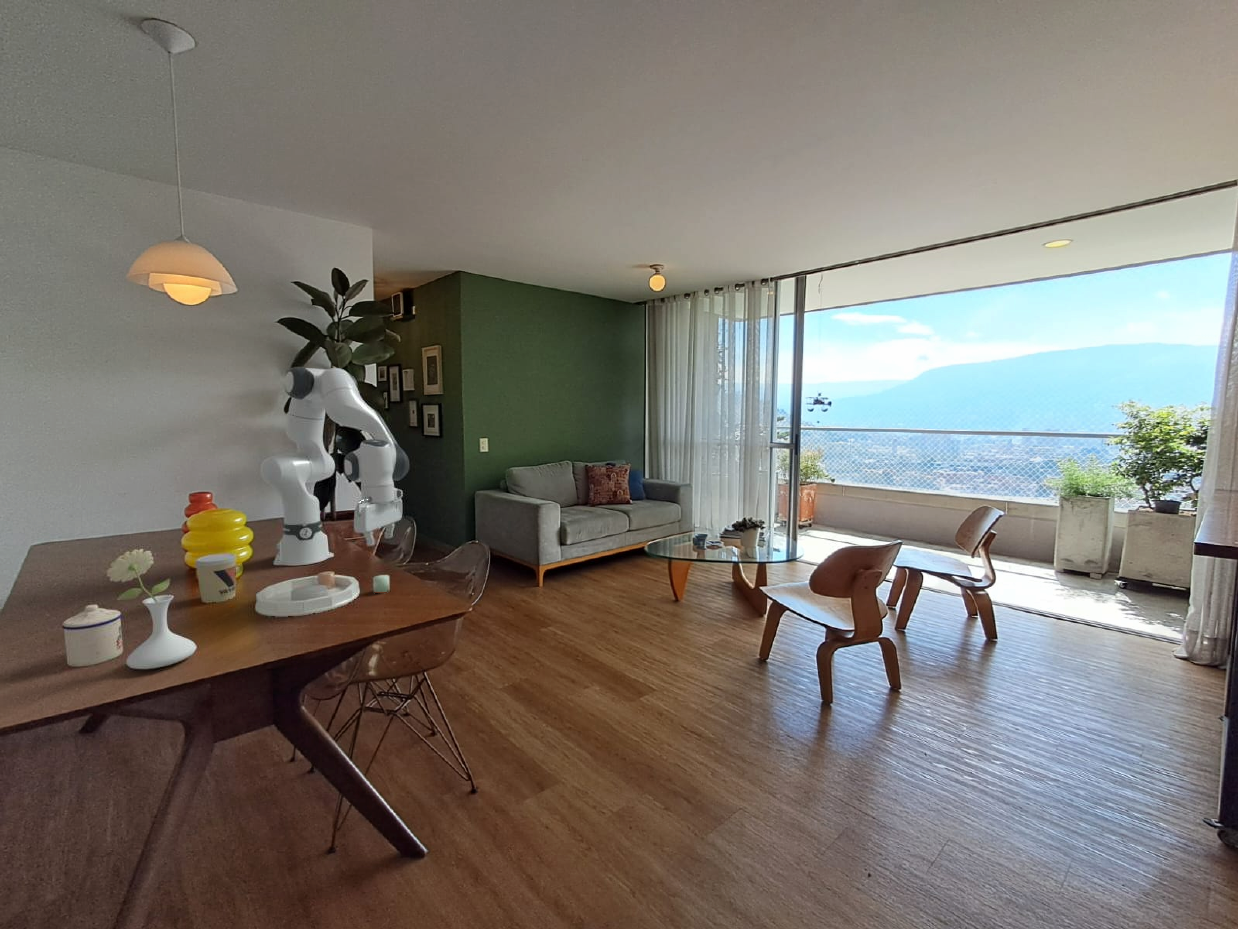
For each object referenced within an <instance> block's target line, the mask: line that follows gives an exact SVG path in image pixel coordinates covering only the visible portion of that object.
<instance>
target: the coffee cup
mask: <svg viewBox="0 0 1238 929" xmlns="http://www.w3.org/2000/svg"><path fill="white" fill-rule="evenodd" d="M194 564H195V566H196V572H197V574H196V575H197V580H198V586H199V591H200V592H199V593H200V597H201V598H200V599H201V602H202V603H204V602H205V604H213V603H212V602H216V603H221V602H226V601H229V600H228V599H230V600H231V599H234V598H235V597H236V592H237V591H236V590H237V585H236V584H237V556H236V554H234V553H217V554H209V555H206V556H205V555H204V556H202V557H199V558H197V559H196V561H195V563H194ZM233 597H234V598H233ZM209 602H210V603H209Z"/></svg>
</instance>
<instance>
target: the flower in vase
mask: <svg viewBox="0 0 1238 929" xmlns="http://www.w3.org/2000/svg"><path fill="white" fill-rule="evenodd" d="M151 552H152V551H150V550H148V551H147V550H146V551H144V549H143V548H141V549H134V550H132V551H126V552H124V553H123V555H119V556H118V557H117V558H116V559H115V561H112V563H111V564H110V568H108V569H107V571H106V576H107V577H109V581H110V582H119V581H121V583H124V582H125V583H126V582H128V581H129V582H130V581H132V580H134V578H135V579H138V582H139V584H140V588H136V587H135V588H130V589H128V590H125V591H124V592H123V593H121V594H120V595H119V596H118V598H117V599H116V601H121V600H123V601H124V600H132V599H135V598H137V597H138V596H140V595H141V593H142V592H145V593H146V594H148V595H149V598H146V599H144V600H142V601H141V602H142V604H143V605H145V607H146V608H147V609H148V610H149V613H150V616H151V619H152V632H151V635H150V636H149V637H148V639H146V640H145V641H144V642H142V643H141V644H140V645H139V646H138V647H137V648H135V649H134V650H133V651H132V652H131V653H130V654H129V655H128V657H127V659H126V661H125V664H126V665H127V666H128V667H129V668H131V669H136V670H151V669H157V668H162V667H166V666H170V665H173V664H176V663H179V662H181V661H183V660H186V659H187V658H189V657H191V656H192V655H193V654H194V653H195V651H196V650H197V645H196V644H195V642H194V641H192V640H191V639H189V638H186V637H183V636H182V635H178V634H176V633H174V632H172V631H171V630H170V629H169V627H168V622H167V621H168V619H167V618H168V617H167V615H168V608H169V605H170V604H171V601H172V600H173V599H174V595H171V594H170V595H169V594H164V595H157V596H154V595H156V594H159V593H161V592H163V591H166V589H168V587H169V585H170V583H171V582H170V581H171V579H170V578H167V579H166V580H165V581H163V582H159V583H158V584H156V585H155V586H153V587H152V589H151V592H149V591H148V590H147V589H146V588H145V587H144V584H143V582H142V580H141V578H140V576H141V575H143V574H146V573H147V571H148V570H149V569H150V568H151V566H152V565H153V564H154V556H152V555H153V553H151Z"/></svg>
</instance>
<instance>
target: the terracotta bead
mask: <svg viewBox="0 0 1238 929" xmlns="http://www.w3.org/2000/svg"><path fill="white" fill-rule="evenodd" d="M335 575H336V574H335V572H334V571H329V570H328V571H323V572H319V573H317V576H318V585H325V586H327V590H330V589H333V588H335Z"/></svg>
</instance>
